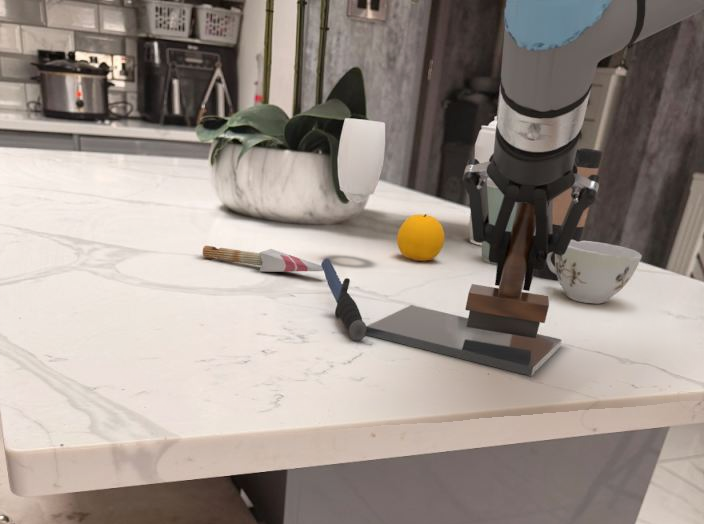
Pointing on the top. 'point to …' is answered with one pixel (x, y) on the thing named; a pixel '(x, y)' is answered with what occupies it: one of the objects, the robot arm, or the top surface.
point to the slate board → (464, 340)
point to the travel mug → (586, 166)
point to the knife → (344, 302)
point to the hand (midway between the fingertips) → (514, 278)
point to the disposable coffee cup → (494, 213)
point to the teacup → (594, 270)
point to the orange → (420, 237)
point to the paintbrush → (262, 259)
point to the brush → (511, 287)
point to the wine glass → (360, 158)
